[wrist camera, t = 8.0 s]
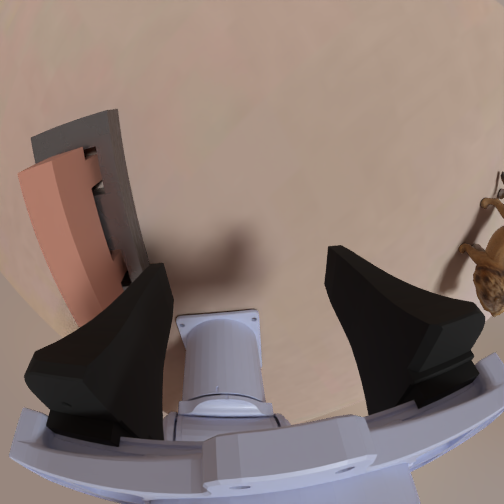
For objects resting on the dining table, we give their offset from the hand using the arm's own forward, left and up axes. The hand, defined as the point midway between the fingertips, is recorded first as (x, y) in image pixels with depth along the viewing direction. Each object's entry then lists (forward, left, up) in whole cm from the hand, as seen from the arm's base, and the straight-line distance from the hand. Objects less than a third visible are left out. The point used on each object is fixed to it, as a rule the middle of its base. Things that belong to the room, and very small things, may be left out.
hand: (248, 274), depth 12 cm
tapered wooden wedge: (0, +12, -10) cm, 15 cm away
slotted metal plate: (0, +12, -10) cm, 15 cm away
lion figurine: (-5, -28, -10) cm, 30 cm away
